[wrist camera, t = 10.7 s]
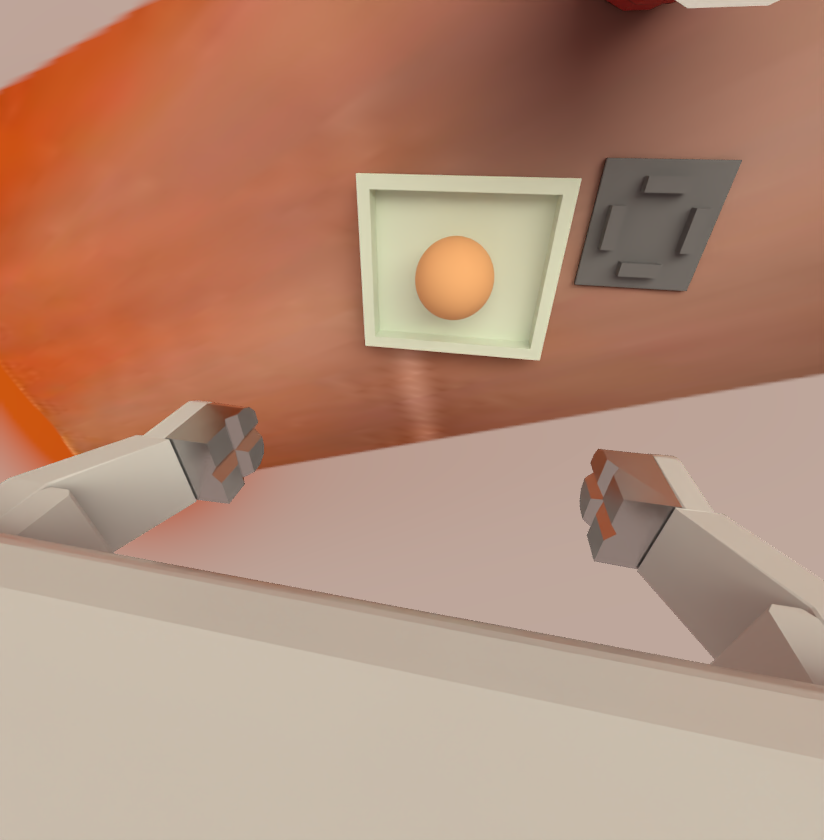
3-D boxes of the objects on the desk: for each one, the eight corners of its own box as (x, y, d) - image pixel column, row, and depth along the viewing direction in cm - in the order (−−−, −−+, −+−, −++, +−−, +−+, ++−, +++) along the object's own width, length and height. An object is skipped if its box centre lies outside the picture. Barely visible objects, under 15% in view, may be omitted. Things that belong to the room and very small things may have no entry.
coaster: (738, 160, 20) (749, 159, 20) (684, 289, 24) (691, 293, 24) (606, 157, 21) (611, 157, 20) (574, 283, 25) (577, 287, 24)
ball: (501, 233, 24) (498, 244, 20) (490, 310, 26) (486, 334, 22) (424, 229, 25) (407, 239, 20) (422, 304, 27) (406, 326, 23)
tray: (574, 178, 22) (581, 178, 20) (536, 349, 28) (539, 360, 27) (364, 173, 24) (355, 173, 22) (372, 336, 30) (365, 345, 28)
